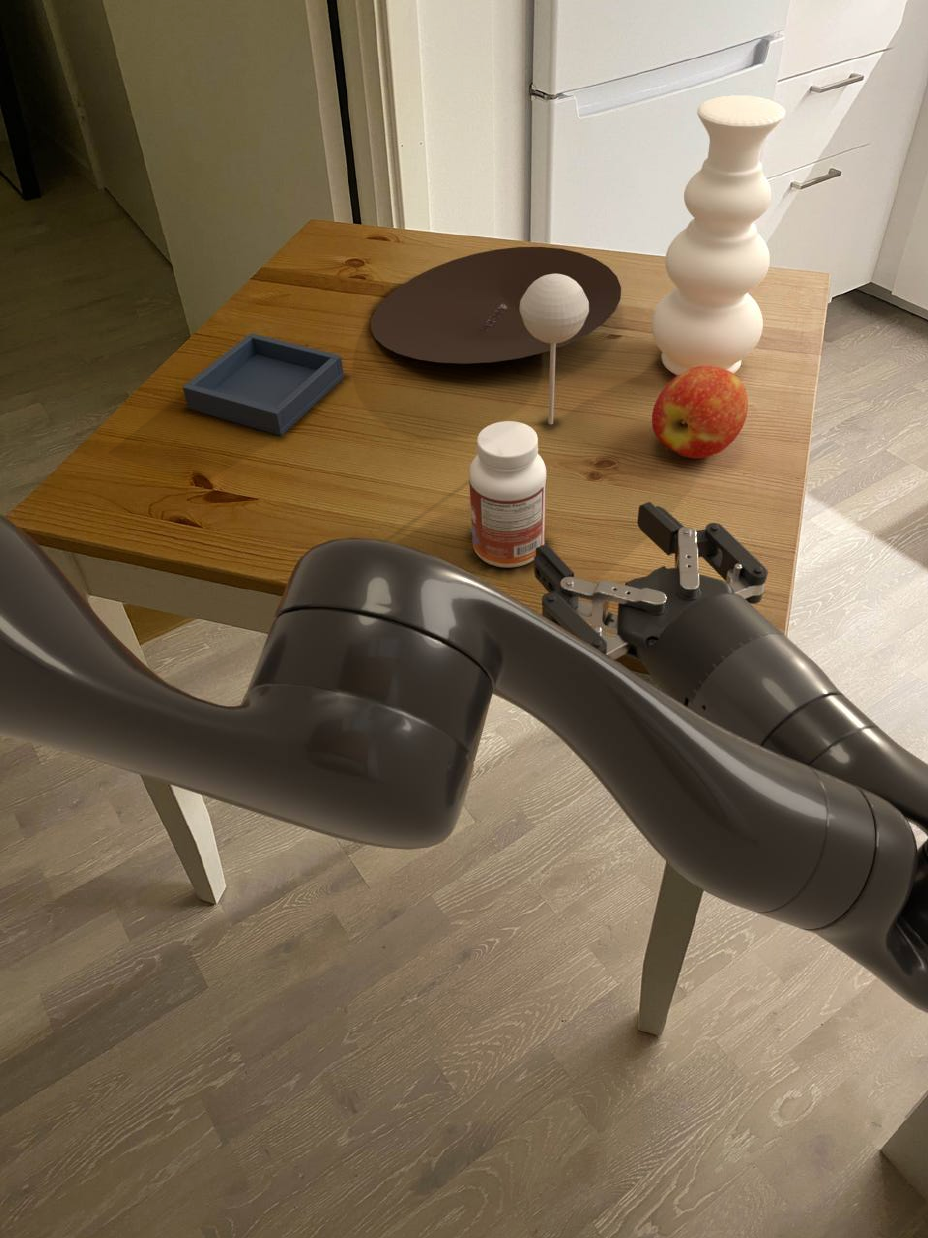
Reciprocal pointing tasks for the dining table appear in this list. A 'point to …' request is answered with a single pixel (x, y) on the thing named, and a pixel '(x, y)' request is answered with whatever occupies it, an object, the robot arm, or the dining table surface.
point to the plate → (486, 305)
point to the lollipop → (554, 315)
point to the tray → (264, 383)
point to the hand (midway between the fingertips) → (591, 533)
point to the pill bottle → (507, 495)
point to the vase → (720, 243)
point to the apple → (700, 411)
